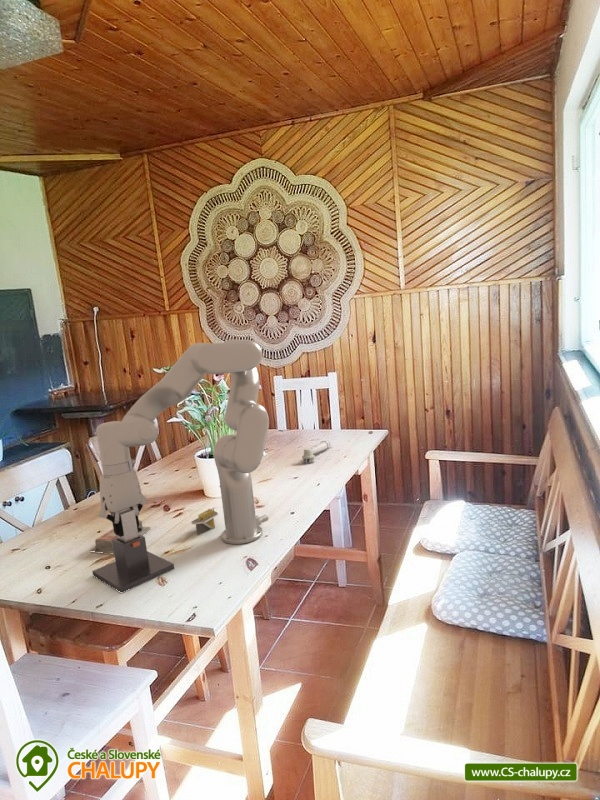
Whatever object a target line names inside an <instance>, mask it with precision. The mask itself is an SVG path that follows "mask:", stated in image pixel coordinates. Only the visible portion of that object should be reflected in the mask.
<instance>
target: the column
mask: <svg viewBox="0 0 600 800" xmlns="http://www.w3.org/2000/svg"><path fill="white" fill-rule="evenodd" d="M119 522H121V524H122V531H123V536H122V537H120V536H118V541H120V542H122V543H124V544H126V543H128V542H131V541H133V540H136V539H138V538H139V536H138V530H137V523H136V517H135V510H133V509H131V508H127V509H124V510H122V511H119Z"/></svg>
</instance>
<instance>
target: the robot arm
mask: <svg viewBox="0 0 600 800" xmlns="http://www.w3.org/2000/svg"><path fill="white" fill-rule="evenodd" d="M262 360H263V351H262V348H261V346H260V345H259V344H258V342H255V341H254V340H250V339H237V338H236V339H228V340H225V341H224V342H213V343H212V342H209V343H208V342H196V343H193V344H191V345H190V346H189V347H187V349H186V350H185V351H184V352H183V354H182V355H181V356H179V359H177V361H176V362H175V363H174V364H173V366H172V367H171V368H170V369H169V370H168V371H167V372H166V374H165V375H164V377H162V378H161V380H159V381H158V382H157V383H156V384H154V385H153V386H152V387H151V388H150V389H149V390H148V391H146V392H145V393H144V394H142V395H141V396H140V397H139V398H138V400H137V401H136V402H135V403H134V404H133V405H132V406H131V408H130V409H129V410H128V411H127V412H126V414H125V415H124V416H123V418H122V419H121V421H120V420H113V421H107V422H104V423H100V424H99V425H98V426H97V427H96V431H95V432H96V437H97V445H98V451H99V457H100V463H101V468H102V469H101V470H102V474H101V475H100V477H99V478H100V479H99V498H100V506H101V507H100V509H99V512H98V514H97V515H98V517H99V518H102V519H106V520H108V521H110V522H111V523H112V529H114V533H115V534H116V535H118V536H120V537H122V536H123V531H122V524H121V522H119V511H122V510H124V509H127V508H131V509H133V510H135V517H136V523H137V530H139V520H140V519H139V516H140V512H141V511H142V508H143V507H144V505H145V504H146V503H147V502H148V498H147V497H146V496H145V495H144V494H143V493H142V488H141V485H140V480H139V478H138V475H137V473H136V470H135V469H134V468H133V465H135V464H136V459H135V458H131V452H130V451H131V450H130V448H131V447H144V446H149V445H151V444H153V443H154V442H155V441H157V439H158V437H159V434H160V433H159V432H160V429H159V426H158V424H157V423H156V422H155V420H156V419H157V418H158V416H159V415H161V414H162V413H163V412H165V410H167V409H169V408H170V407H173V406H175V405H177V404H178V405H179V404H181V402H183V401H185V400H187V398H188V397H189V396H190V394H191V393H192V392H193V391H194V389H195V388H196V387H197V386H198V384H199V383H200V382H201V381H202V380H203V379H204V378H205V376H206V375H222V374H229V375H230V381H231V382H230V388H229V392H228V393H229V394H228V399H227V404H226V408H225V411H224V412H225V413H224V423H225V425H226V426H227V427H228V428H229V429H230V430H232V431H234V432H236V435H234V434H225V435H223V436H221V437H220V438H218V439H217V441H216V442H215V444H214V446H213V457H214V458H213V459H214V462H215V467H216V469H217V474H218V479H219V487H220V495H221V504H222V510H223V519H224V527H225V529H224V530H223V531H222V533H221V536H220V537H221V540H222V541H223V542H224V543H226V544H231V545H243V544H247V543H251V542H254V541H256V540H259V538H260V537H261V536H262V535H263V528H262V527H261V526H260V525H262V524H264V523H265V522H267V521H269V516H268V515H267V514H263V515H262V516H259V515H256V509H255V500H254V499H255V497H254V491H253V483H252V482H253V481H252V480H253V479H252V474H251V473H252V472H254V471H256V470H257V468H258V467H259V465H260V464H261V461H262V458H263V456H264V451H265V446H266V441H267V437H268V432H269V426H270V419H269V414H268V411H267V409H266V408H265V407H264V406H263V405H261V404H260V403H258V399H259V398H258V397H259V390H260V382H261V381H260V375H259V371H258V369H257V367H258V366H259V365H260V364H261V362H262ZM107 511H108V513H109V514H108V513H107Z"/></svg>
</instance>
